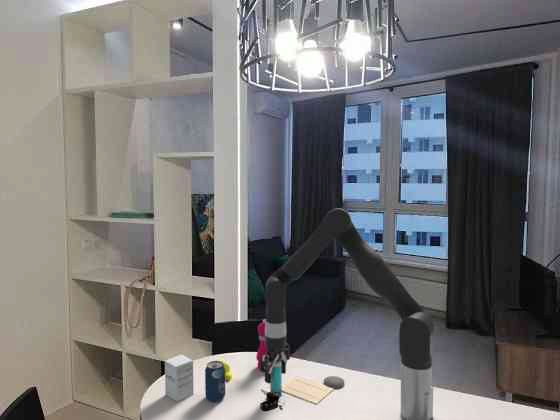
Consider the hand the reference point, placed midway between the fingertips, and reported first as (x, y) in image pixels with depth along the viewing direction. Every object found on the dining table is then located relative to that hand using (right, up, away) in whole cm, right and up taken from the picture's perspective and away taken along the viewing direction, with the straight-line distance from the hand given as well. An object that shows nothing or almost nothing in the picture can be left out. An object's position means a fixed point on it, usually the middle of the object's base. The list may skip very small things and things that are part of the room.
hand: (275, 377), depth 136 cm
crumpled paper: (-21, -6, +12) cm, 25 cm away
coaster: (+22, -5, +8) cm, 24 cm away
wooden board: (+11, -6, +3) cm, 13 cm away
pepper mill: (-4, -5, +21) cm, 22 cm away
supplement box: (-34, -6, +1) cm, 35 cm away
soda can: (-21, -6, -2) cm, 22 cm away
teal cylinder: (0, -6, 0) cm, 6 cm away
